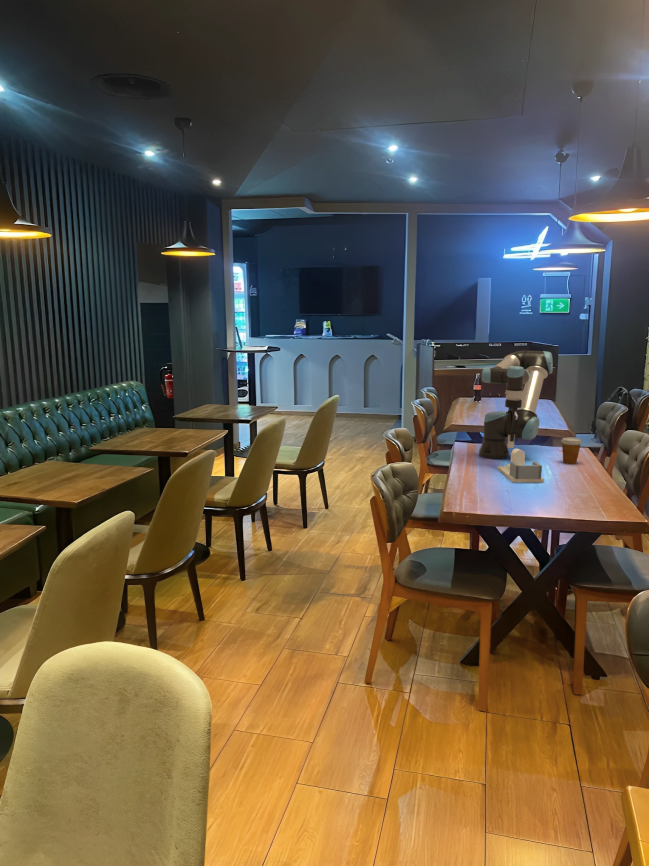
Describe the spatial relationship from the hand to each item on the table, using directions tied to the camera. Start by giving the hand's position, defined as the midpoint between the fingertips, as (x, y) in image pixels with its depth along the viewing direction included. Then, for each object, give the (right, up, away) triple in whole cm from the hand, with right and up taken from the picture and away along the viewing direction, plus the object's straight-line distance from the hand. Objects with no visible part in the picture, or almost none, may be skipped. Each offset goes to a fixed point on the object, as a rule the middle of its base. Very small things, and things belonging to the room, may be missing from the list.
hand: (510, 447), depth 301 cm
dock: (0, -13, -13) cm, 18 cm away
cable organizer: (0, -11, -9) cm, 14 cm away
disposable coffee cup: (+33, -8, +11) cm, 36 cm away
